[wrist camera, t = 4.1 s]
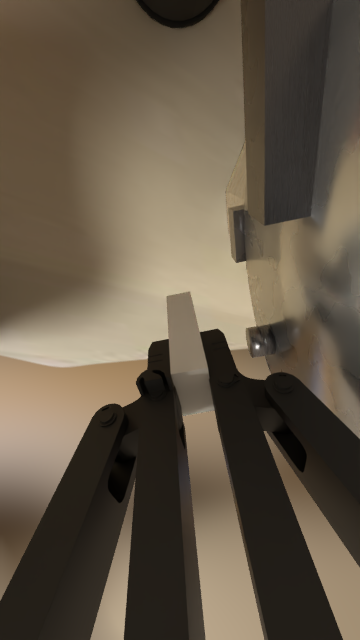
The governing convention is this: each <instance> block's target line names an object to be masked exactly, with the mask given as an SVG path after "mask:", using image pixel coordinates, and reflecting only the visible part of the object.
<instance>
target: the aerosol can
mask: <svg viewBox="0 0 360 640" xmlns="http://www.w3.org/2000/svg"><path fill="white" fill-rule="evenodd" d="M136 1H137V2H138V4H139V5H140V6H141V8H142V9H143V10H144V11H145V12H146V13H147V14H148V15H149V16H150V17H151V18H152V19H154V20H156V21H157V22H159V23H160V24H162V25H165V26H168V27H171V28H184V27H188V26H191V25H194V24H195V23H197V22H199V21H200V20H202V19H203V18H205V17H206V16H207V15H208V14H209V13H210V12H211V11H212V10H213V8H214V7H215V5H216V4H217V2H218V1H219V0H136Z"/></svg>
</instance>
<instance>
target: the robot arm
mask: <svg viewBox="0 0 360 640" xmlns="http://www.w3.org/2000/svg"><path fill="white" fill-rule="evenodd" d="M167 314H168V333H169V339H166V340H161V341H156V342H152V344H151V346H150V348H149V350H148V368H147V370H146V371H144V372H143V373H141V375H140V376H139V377H138V378H137V381H136V385H137V387H138V389H139V392H140V394H141V397H140V398H139V399H138V400H136V401H135V402H133V403H131V404H129V405H127V406H125V407H123V408H122V407H121V406H120V405H118V404H108V405H106V406H104V407H102V408H100V409H99V410H98V411H97V412H96V413H95V415H94V416H93V417H92V419H91V421H90V423H89V425H88V427H87V429H86V431H85V433H84V435H83V437H82V439H81V441H80V443H79V445H78V447H77V449H76V451H75V453H74V455H73V457H72V459H71V461H70V463H69V465H68V467H67V469H66V471H65V473H64V475H63V477H62V479H61V481H60V483H59V485H58V487H57V489H56V491H55V493H54V495H53V497H52V499H51V501H50V503H49V505H48V507H47V509H46V511H45V513H44V515H43V517H42V519H41V521H40V523H39V525H38V527H37V529H36V531H35V533H34V535H33V537H32V539H31V541H30V543H29V545H28V547H27V549H26V551H25V553H24V555H23V557H22V559H21V561H20V563H19V565H18V567H17V569H16V571H15V573H14V575H13V577H12V579H11V581H10V583H9V585H8V587H7V589H6V591H5V593H4V595H3V597H2V599H1V601H0V640H90V638H91V634H92V631H93V627H94V623H95V620H96V617H97V613H98V610H99V606H100V602H101V599H102V595H103V592H104V588H105V585H106V581H107V577H108V574H109V570H110V567H111V563H112V560H113V556H114V553H115V549H116V546H117V542H118V538H119V535H120V531H121V528H122V524H123V521H124V517H125V514H126V510H127V506H128V503H129V499H130V496H131V492H132V489H133V485H134V482H135V495H134V509H133V522H132V535H131V550H130V563H129V577H128V590H127V603H126V604H127V605H126V618H125V631H124V640H205V630H204V620H203V610H202V599H201V589H200V580H199V569H198V558H197V549H196V538H195V528H194V517H193V507H192V496H191V486H190V477H189V466H188V456H187V445H186V435H185V427H184V424H183V418H182V414H183V416H186V415H192V414H197V413H203V412H208V411H214V410H215V414H216V419H217V425H218V430H219V433H220V438H221V442H222V447H223V452H224V455H225V461H226V465H227V470H228V474H229V479H230V484H231V488H232V493H233V497H234V502H235V507H236V511H237V516H238V520H239V525H240V529H241V534H242V539H243V543H244V548H245V552H246V557H247V562H248V566H249V571H250V575H251V580H252V584H253V589H254V594H255V598H256V603H257V607H258V612H259V616H260V621H261V626H262V630H263V635H264V640H343V638H342V636H341V633H340V631H339V628H338V626H337V623H336V620H335V617H334V615H333V612H332V610H331V607H330V604H329V602H328V599H327V596H326V594H325V591H324V589H323V586H322V583H321V581H320V578H319V576H318V573H317V570H316V568H315V565H314V562H313V560H312V557H311V555H310V552H309V550H308V547H307V544H306V542H305V539H304V536H303V534H302V531H301V528H300V526H299V523H298V521H297V518H296V515H295V513H294V510H293V507H292V505H291V502H290V500H289V497H288V495H287V492H286V489H285V487H284V484H283V481H282V479H281V476H280V473H279V471H278V468H277V466H276V463H275V460H274V458H273V455H272V453H271V450H270V447H269V445H268V442H267V440H266V437H265V434H264V432H263V431H267V433H268V434H269V436H270V437H271V439H272V440H273V441H274V443H275V444H276V446H277V447H278V449H279V450H280V452H281V453H282V454H283V456H284V458H285V459H286V461H287V462H288V463H289V465H290V466H291V468H292V469H293V470H294V472H295V474H296V475H297V477H298V478H299V479H300V481H301V482H302V484H303V485H304V487H305V488H306V490H307V491H308V493H309V494H310V496H311V497H312V498H313V500H314V501H315V503H316V504H317V506H318V507H319V508H320V510H321V511H322V513H323V514H324V516H325V517H326V519H327V520H328V522H329V523H330V525H331V526H332V528H333V529H334V530H335V532H336V533H337V535H338V536H339V538H340V539H341V541H342V542H343V543H344V545H345V547H346V548H347V549H348V551H349V552H350V554H351V555H352V557H353V558H354V560H355V561H356V563H357V564H358V565H359V567H360V439H359V438H358V437H357V436H356V435H355V434H354V433H353V432H352V431H351V430H350V429H349V428H348V427H347V426H346V425H345V424H344V423H343V422H342V421H341V420H340V419H339V418H338V417H337V416H336V415H335V414H334V413H333V412H332V411H331V410H330V409H329V408H328V407H327V406H326V405H325V404H324V403H323V402H322V401H321V400H320V399H319V398H318V397H316V396H315V395H314V394H313V393H312V392H311V391H310V390H309V389H308V388H307V387H306V386H305V385H304V384H303V383H302V382H301V381H300V380H299V379H298V378H296V377H295V376H294V375H292V374H289V373H285V372H277V373H272V374H271V375H269V376H268V377H267V379H266V380H257V379H250V378H247V377H245V376H243V375H242V374H241V373H240V372H239V371H238V370H237V368H236V365H235V363H234V360H233V357H232V355H231V352H230V349H229V347H228V344H227V341H226V338H225V336H224V334H223V333H222V332H221V331H220V330H219V329H214V330H209V331H204V332H199V328H198V323H197V319H196V315H195V311H194V306H193V302H192V298H191V294H190V292H185V293H180V294H175V295H170V296H167ZM135 478H136V481H135Z"/></svg>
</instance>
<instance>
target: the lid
mask: <svg viewBox="0 0 360 640" xmlns="http://www.w3.org/2000/svg"><path fill="white" fill-rule="evenodd" d="M241 21H242V52H243V82H244V112H245V143H246V173H247V176H246V188H245V202H244V232H245V253H246V269H247V274H248V282H249V289H250V295H251V301H252V306H253V312H254V316H255V321H256V325H257V326H256V327H250V328H246V340H247V345H248V349H249V352H250V355H251V356H252V358H254V357H260V356H265V358H266V361H267V364H268V367H269V370H270V373H271V374H272V373H277V372H285V373H289V374H292V375H294V376H295V377H296V378H298V379H299V380H300V381H301V382H302V383H303V384H304V385H305V386H306V387H307V388H308V389H309V390H310V391H311V392H312V393H313V394H314V395H315V396H316V397H318V398H319V399H320V400H321V401H322V402H323V403H324V404H325V405H326V406H327V407H328V408H329V409H330V410H331V411H332V412H333V413H334V414H335V415H336V416H337V417H338V418H339V419H340V420H341V421H342V422H343V423H344V424H345V425H346V426H347V427H348V428H349V429H350V430H351V431H352V432H353V433H354V434H355V435H356V436H357V437H358V438H359V439H360V0H241Z"/></svg>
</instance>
